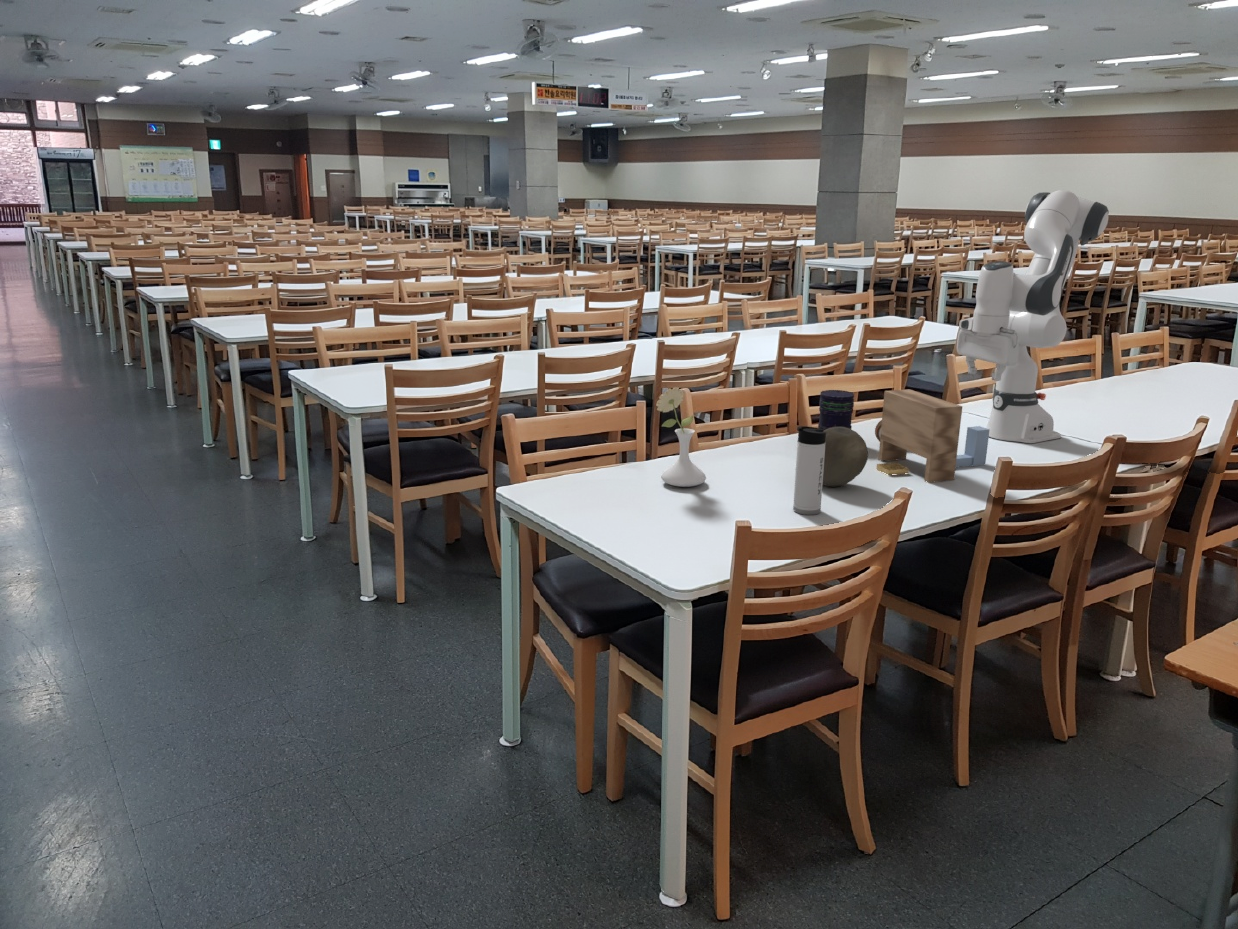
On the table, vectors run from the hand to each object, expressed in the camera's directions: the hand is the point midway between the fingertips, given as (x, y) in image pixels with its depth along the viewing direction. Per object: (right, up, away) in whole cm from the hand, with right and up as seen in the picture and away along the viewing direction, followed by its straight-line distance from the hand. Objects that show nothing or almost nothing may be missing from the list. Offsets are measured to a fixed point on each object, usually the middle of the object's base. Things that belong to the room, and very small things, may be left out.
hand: (983, 377), depth 247 cm
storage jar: (-34, -17, +27) cm, 47 cm away
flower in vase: (-82, -28, -13) cm, 88 cm away
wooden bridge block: (-18, -25, +1) cm, 31 cm away
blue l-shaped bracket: (-5, -24, +5) cm, 25 cm away
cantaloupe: (-43, -29, -13) cm, 53 cm away
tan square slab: (-25, -26, -1) cm, 36 cm away
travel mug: (-54, -34, -32) cm, 72 cm away
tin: (-15, -18, +24) cm, 34 cm away
